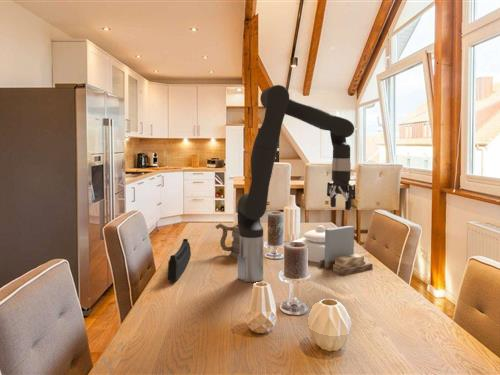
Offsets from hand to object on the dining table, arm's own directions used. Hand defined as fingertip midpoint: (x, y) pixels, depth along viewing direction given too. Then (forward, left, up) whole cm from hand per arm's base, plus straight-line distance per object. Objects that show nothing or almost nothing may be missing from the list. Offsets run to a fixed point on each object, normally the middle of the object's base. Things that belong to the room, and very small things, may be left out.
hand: (340, 208), depth 175 cm
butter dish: (+2, +15, -26) cm, 30 cm away
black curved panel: (-59, +31, -26) cm, 71 cm away
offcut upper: (0, -6, -22) cm, 23 cm away
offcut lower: (0, -6, -24) cm, 25 cm away
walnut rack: (0, -3, -26) cm, 26 cm away
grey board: (0, 0, -24) cm, 24 cm away
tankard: (-26, +42, -26) cm, 55 cm away
